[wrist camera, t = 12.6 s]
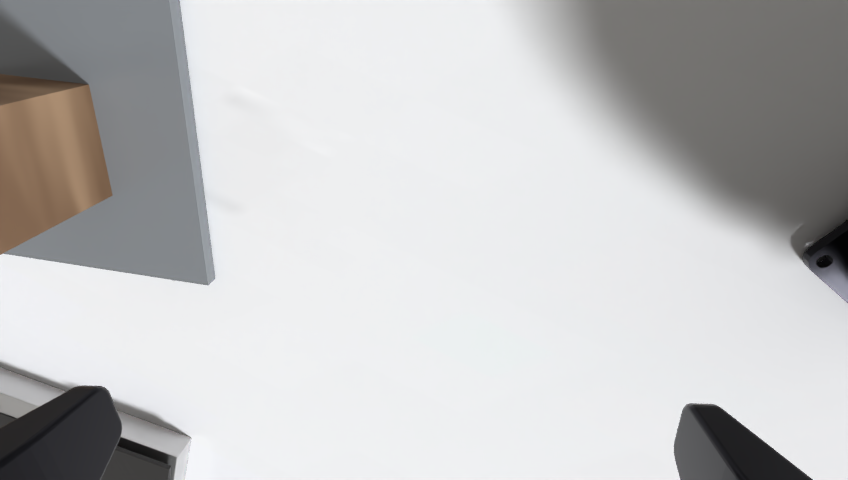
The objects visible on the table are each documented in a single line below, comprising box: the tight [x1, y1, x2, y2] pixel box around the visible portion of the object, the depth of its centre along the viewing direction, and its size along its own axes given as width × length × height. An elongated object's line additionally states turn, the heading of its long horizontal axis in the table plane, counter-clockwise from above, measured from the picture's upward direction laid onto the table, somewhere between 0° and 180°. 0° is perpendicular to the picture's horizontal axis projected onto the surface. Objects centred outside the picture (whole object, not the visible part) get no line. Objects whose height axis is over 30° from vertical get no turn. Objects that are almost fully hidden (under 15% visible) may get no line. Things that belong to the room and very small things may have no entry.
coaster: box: [0, 0, 215, 285], centre depth 21 cm, size 12×12×1 cm
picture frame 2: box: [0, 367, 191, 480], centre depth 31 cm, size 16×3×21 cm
